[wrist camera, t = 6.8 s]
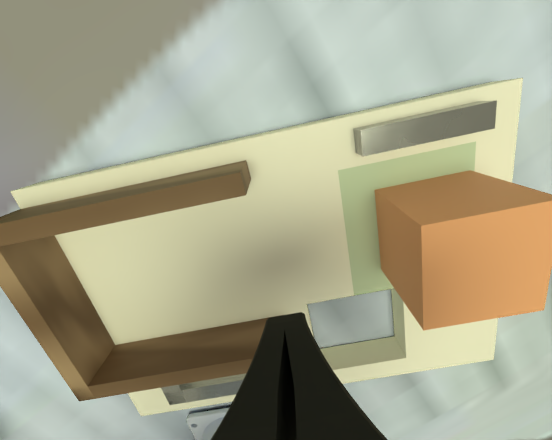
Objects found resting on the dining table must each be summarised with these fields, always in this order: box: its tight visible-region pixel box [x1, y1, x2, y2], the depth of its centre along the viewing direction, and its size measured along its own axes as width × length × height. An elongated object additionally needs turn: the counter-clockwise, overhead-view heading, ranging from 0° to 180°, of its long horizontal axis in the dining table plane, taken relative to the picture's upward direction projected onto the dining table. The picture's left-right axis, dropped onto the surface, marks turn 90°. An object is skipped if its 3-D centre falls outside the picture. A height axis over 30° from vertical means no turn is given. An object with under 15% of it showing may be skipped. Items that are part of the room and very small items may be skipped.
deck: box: [11, 78, 523, 416], centre depth 18 cm, size 18×26×2 cm
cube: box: [375, 170, 552, 331], centre depth 13 cm, size 5×5×5 cm
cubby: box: [0, 160, 282, 401], centre depth 15 cm, size 11×12×3 cm
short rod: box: [353, 100, 497, 156], centre depth 13 cm, size 1×6×1 cm, turn 102°
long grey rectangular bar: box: [161, 373, 246, 405], centre depth 19 cm, size 3×9×1 cm, turn 102°
